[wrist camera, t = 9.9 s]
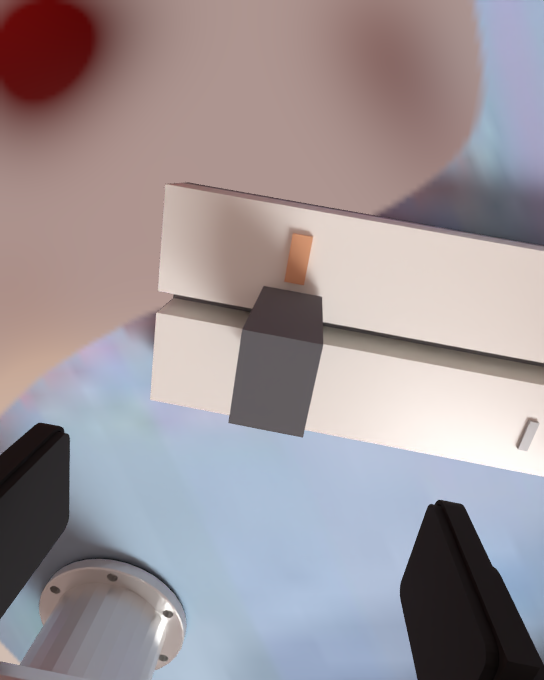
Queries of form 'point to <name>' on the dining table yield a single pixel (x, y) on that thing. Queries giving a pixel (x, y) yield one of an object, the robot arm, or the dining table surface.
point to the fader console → (362, 321)
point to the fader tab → (278, 362)
